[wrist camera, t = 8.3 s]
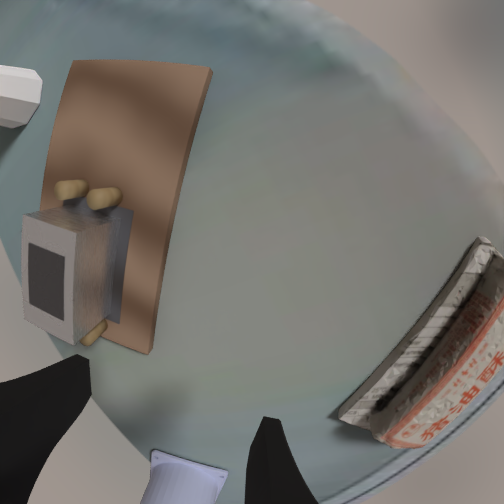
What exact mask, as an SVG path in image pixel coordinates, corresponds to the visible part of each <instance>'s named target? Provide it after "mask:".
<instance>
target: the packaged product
mask: <svg viewBox="0 0 504 504" xmlns="http://www.w3.org/2000/svg"><path fill="white" fill-rule="evenodd" d="M503 366H504V258H503V257H502V255H501V254H500V253H499V252H498V250H497V249H496V248H495V247H494V246H493V245H492V243H491V242H490V241H489V240H487V239H486V238H485V237H481V236H480V237H477V239H476V240H475V242H474V244H473V246H472V247H471V249H470V251H469V252H468V254H467V255H466V257H465V259H464V260H463V262H462V263H461V265H460V267H459V268H458V270H457V271H456V273H455V274H454V275H453V277H452V278H451V279H450V281H449V282H448V283H447V285H446V286H445V287H444V289H443V290H442V291H441V293H440V294H439V295H438V296H437V298H436V299H435V300H434V302H433V303H432V304H431V306H430V307H429V308H428V310H427V311H426V312H425V314H424V315H423V316H422V317H421V319H420V320H419V321H418V322H417V323H416V325H415V326H414V327H413V328H412V329H411V331H410V332H409V333H408V334H407V335H406V336H405V338H404V339H403V340H402V341H401V342H400V343H399V345H398V346H397V347H396V348H395V349H394V350H393V351H392V353H391V354H390V355H389V356H388V357H387V358H386V359H385V360H384V362H383V363H382V364H381V365H380V366H379V367H378V368H377V369H376V370H375V372H374V373H373V374H372V375H371V376H370V377H369V378H368V379H367V380H366V381H365V382H364V384H363V385H362V386H361V387H360V388H359V389H358V390H357V391H356V392H355V393H354V394H353V395H352V396H351V397H350V398H349V399H348V400H347V401H346V402H345V403H344V404H343V405H342V406H341V408H340V409H339V417H338V419H340V420H342V421H345V422H347V423H350V424H352V425H356V426H358V427H361V428H363V429H366V430H370V431H371V432H372V436H373V438H374V439H377V440H378V441H380V442H382V443H384V444H386V445H388V446H390V447H391V448H395V449H401V448H413V449H416V448H421V447H423V446H425V445H426V444H427V443H429V442H430V441H431V440H432V439H433V438H435V437H436V436H437V435H438V434H439V433H440V432H441V431H443V430H444V429H445V428H446V427H447V426H448V425H449V424H450V423H451V422H452V421H453V420H454V419H455V418H457V417H458V415H459V414H460V413H461V412H462V411H463V410H464V409H465V408H466V407H467V406H468V405H469V404H470V403H471V402H472V401H473V400H474V399H475V398H476V397H477V396H478V395H479V394H480V392H481V391H482V390H483V389H484V388H485V387H486V386H487V385H488V384H489V382H490V381H491V380H492V378H493V377H494V376H495V375H496V374H497V373H498V372H499V371H500V369H501V368H502V367H503Z"/></svg>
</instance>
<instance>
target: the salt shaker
mask: <svg viewBox="0 0 504 504" xmlns="http://www.w3.org/2000/svg"><path fill="white" fill-rule="evenodd" d="M42 84H43V81H42V79H41V78H40V77H39V76H38V74H37V73H36V72H35V71H34V70H31V69H25V68H18V67H11V66H3V65H0V126H4V127H8V128H15V127H19V126H22V125H25V124H27V123H28V122H29V120H30V118H31V117H32V115H33V114H34V112H35V110H36V109H37V107H38V106H39V104H40V99H41V91H42Z"/></svg>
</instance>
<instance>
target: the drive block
mask: <svg viewBox="0 0 504 504" xmlns="http://www.w3.org/2000/svg"><path fill="white" fill-rule="evenodd" d="M120 222H121V219H120V218H116V217H113V216H109V215H106V214H102V213H99V212H95V211H92V210H88V209H85V208H81V207H78V206H74V205H66V206H61V207H56V208H51V209H46V210H42V211H37V212H32V213H28V214H23V224H22V255H21V263H22V294H23V308H24V319H25V320H27V321H28V322H30V323H32V324H34V325H36V326H37V327H39V328H41V329H43V330H44V331H46V332H48V333H50V334H52V335H54V336H56V337H58V338H60V339H61V340H63V341H65V342H67V343H69V344H71V345H73V346H74V345H75V344H76V343H77V342H78V341H79V340H80V339H82V338H83V337H84V336H85V335H86V334H87V333H88V332H89V331H90V330H92V329H93V328H94V327H95V326H96V325H97V324H98V323H99V322H101V321H102V320H103V319H104V318H105V317H106V316H107V315H109V314H110V312H111V298H112V286H113V276H114V267H115V258H116V250H117V243H118V236H119V229H120Z"/></svg>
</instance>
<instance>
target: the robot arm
mask: <svg viewBox="0 0 504 504" xmlns="http://www.w3.org/2000/svg"><path fill="white" fill-rule="evenodd" d="M91 395H92V393H91V382H90V367H89V359H87V358H85V357H82V356H80V355H78V354H76V355H74V356H71V357H69V358H67V359H64V360H62V361H60V362H58V363H55V364H53V365H51V366H48V367H46V368H44V369H41V370H39V371H37V372H34V373H31V374H28V375H26V376H22V377H19V378H16V379H13V380H9V381H6V382H1V383H0V504H27V502H28V499H29V496H30V494H31V491H32V489H33V487H34V484H35V482H36V480H37V478H38V476H39V474H40V472H41V470H42V468H43V466H44V464H45V462H46V460H47V458H48V457H49V455H50V453H51V452H52V450H53V449H54V447H55V446H56V444H57V443H58V442H59V440H60V439H61V438H62V436H63V435H64V434H65V433H66V432H67V430H68V429H69V428H70V426H71V425H72V424H73V423H74V421H75V420H76V419H77V417H78V416H79V415H80V413H81V412H82V410H83V409H84V407H85V405H86V404H87V402H88V400H89V398H90V396H91ZM227 476H228V472H227V471H226V470H222V469H218V468H214V467H210V466H206V465H203V464H199V463H195V462H192V461H189V460H185V459H182V458H179V457H176V456H173V455H169V454H166V453H164V452H161V451H158V450H153V451H152V455H151V470H150V481H149V483H148V486H147V488H146V490H145V493H144V495H143V498H142V500H141V503H140V504H215V501H216V499H217V497H218V495H219V493H220V491H221V489H222V487H223V485H224V482H225V480H226V478H227ZM245 504H318V502H317V501H316V499H315V498H314V496H313V495H312V493H311V491H310V490H309V488H308V486H307V485H306V483H305V481H304V479H303V477H302V475H301V473H300V471H299V469H298V467H297V465H296V463H295V460H294V458H293V456H292V453H291V451H290V448H289V446H288V443H287V440H286V437H285V434H284V431H283V427H282V424H281V421H280V420H279V419H275V418H270V417H265V416H264V417H263V419H262V421H261V424H260V426H259V428H258V431H257V433H256V435H255V438H254V440H253V442H252V444H251V447H250V452H249V457H248V463H247V468H246V486H245Z"/></svg>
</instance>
